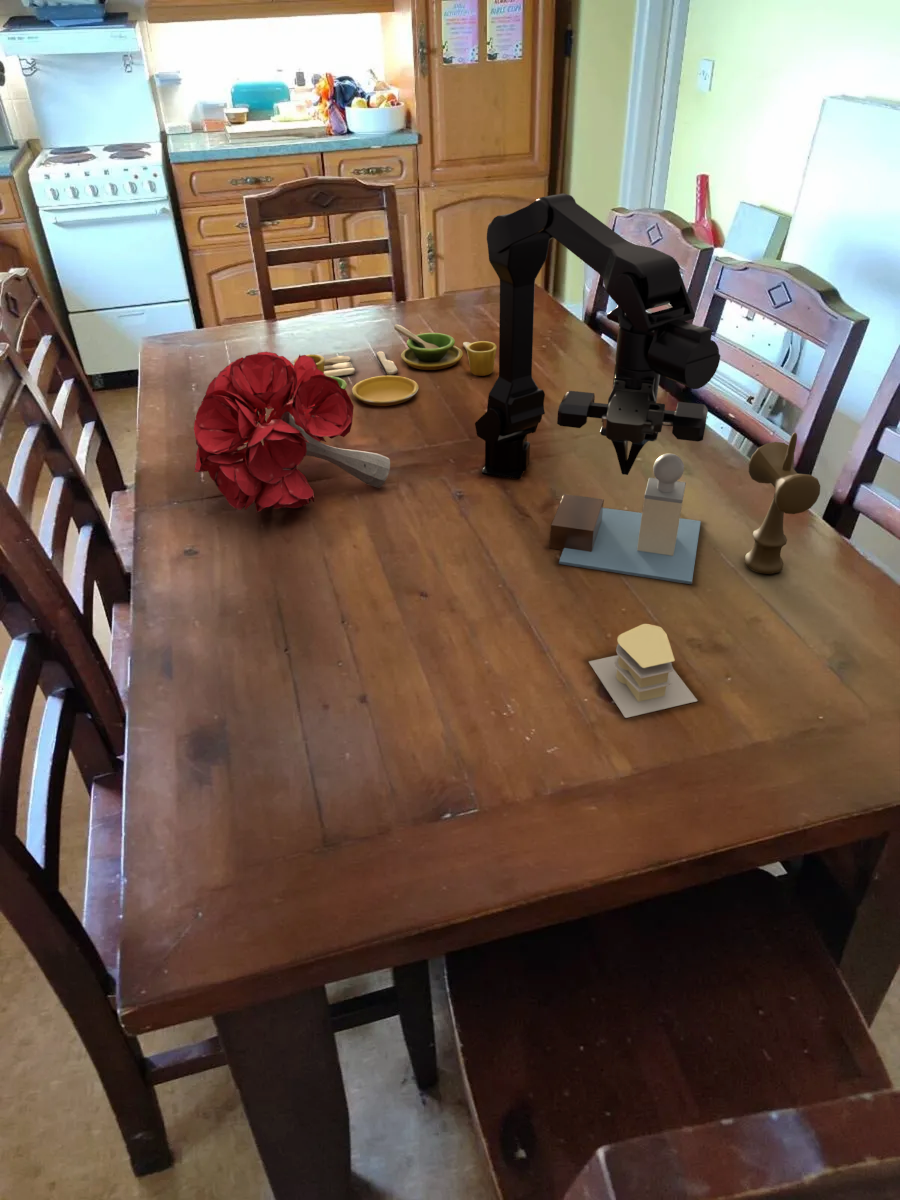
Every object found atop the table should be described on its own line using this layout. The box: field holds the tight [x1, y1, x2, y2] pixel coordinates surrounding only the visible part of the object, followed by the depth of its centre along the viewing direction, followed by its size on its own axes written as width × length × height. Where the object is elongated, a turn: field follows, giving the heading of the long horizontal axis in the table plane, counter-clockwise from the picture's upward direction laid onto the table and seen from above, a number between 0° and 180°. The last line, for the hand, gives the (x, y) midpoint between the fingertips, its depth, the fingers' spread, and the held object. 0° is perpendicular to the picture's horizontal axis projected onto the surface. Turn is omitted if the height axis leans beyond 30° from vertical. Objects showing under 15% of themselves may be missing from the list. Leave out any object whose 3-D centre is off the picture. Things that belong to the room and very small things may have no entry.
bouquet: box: [193, 351, 391, 513], centre depth 129 cm, size 22×24×30 cm
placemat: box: [558, 507, 702, 585], centre depth 123 cm, size 18×16×1 cm
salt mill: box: [637, 453, 687, 556], centre depth 118 cm, size 14×5×10 cm
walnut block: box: [549, 493, 605, 552], centre depth 124 cm, size 6×9×4 cm, turn 163°
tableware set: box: [292, 324, 498, 407], centre depth 171 cm, size 41×28×6 cm
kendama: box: [744, 432, 821, 575], centre depth 112 cm, size 6×10×20 cm, turn 6°
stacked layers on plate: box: [588, 623, 699, 719], centre depth 98 cm, size 10×9×6 cm
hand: (625, 473), depth 117 cm, fingers closed
